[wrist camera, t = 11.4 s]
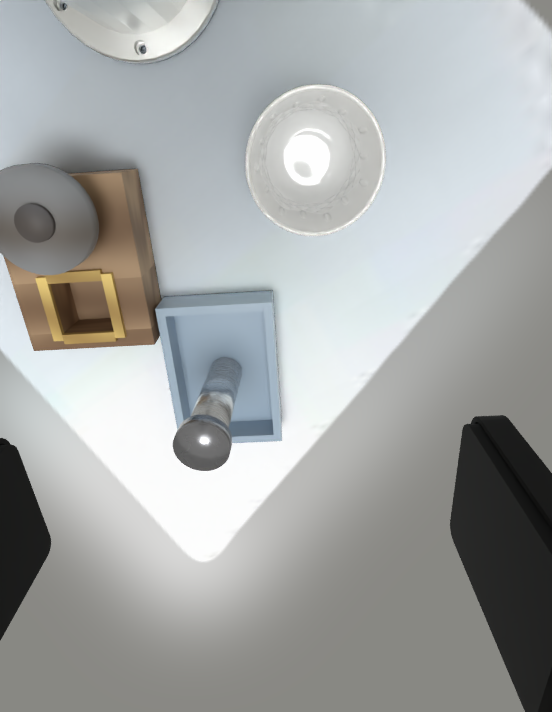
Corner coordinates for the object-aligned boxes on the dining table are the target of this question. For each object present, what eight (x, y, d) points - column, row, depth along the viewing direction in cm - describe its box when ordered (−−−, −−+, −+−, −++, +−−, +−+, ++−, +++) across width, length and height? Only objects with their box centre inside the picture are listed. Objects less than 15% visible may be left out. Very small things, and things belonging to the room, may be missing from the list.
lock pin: (201, 353, 41) (168, 425, 31) (245, 351, 41) (226, 423, 31) (207, 391, 43) (178, 471, 33) (249, 390, 43) (233, 470, 33)
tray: (164, 296, 40) (155, 308, 37) (272, 290, 39) (271, 302, 37) (186, 426, 46) (180, 445, 43) (281, 421, 45) (281, 440, 42)
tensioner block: (6, 163, 35) (-64, 170, 28) (135, 154, 35) (97, 159, 28) (55, 332, 41) (8, 372, 34) (165, 326, 41) (141, 366, 34)
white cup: (274, 224, 37) (271, 253, 28) (240, 119, 34) (224, 115, 25) (370, 191, 36) (399, 211, 27) (344, 80, 33) (367, 60, 24)
